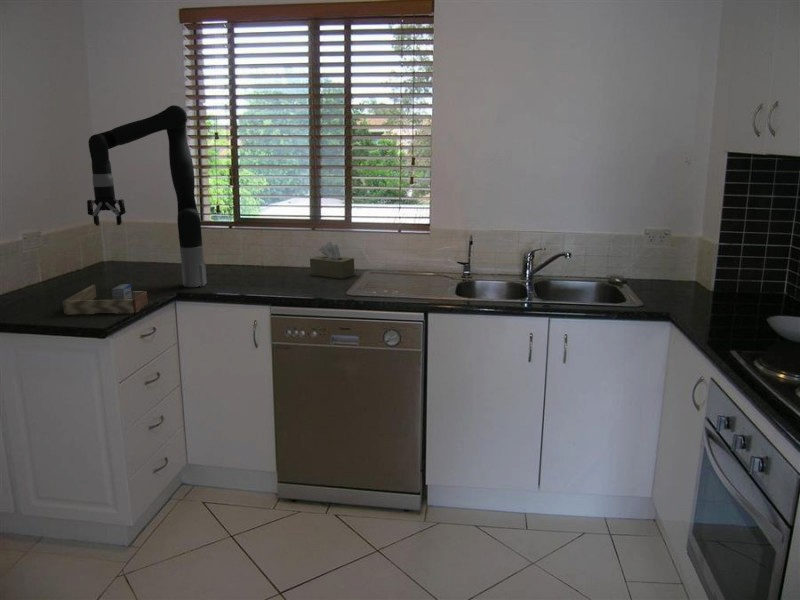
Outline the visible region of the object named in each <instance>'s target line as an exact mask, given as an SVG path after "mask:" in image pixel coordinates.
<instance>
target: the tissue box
mask: <svg viewBox="0 0 800 600" xmlns="http://www.w3.org/2000/svg"><path fill="white" fill-rule="evenodd" d="M318 251H320V253H321V255H317V256H314V257H310V258H309V268H310V270H309V271H310V272H309V273H310V276H314V277H324V278H332V279H333V278H334V279H341V280H345V279H347V278H350V277H352V276H355V258H353V257H343V256H341V251H340V248H339V246H338V244H335V245H333V243H332V242H331V241H329V242H327V243H326V244H325V246H324V245H322V246H321V247H320V249H318Z"/></svg>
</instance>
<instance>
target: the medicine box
mask: <svg viewBox="0 0 800 600" xmlns="http://www.w3.org/2000/svg"><path fill="white" fill-rule="evenodd" d="M131 286H132V285H131V284H129V283H128V284H127V283H122V284H118V285H117V286H115V287H113V288H111V297H112V300H125V299H132V293H131V291H132V287H131Z"/></svg>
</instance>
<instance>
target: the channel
mask: <svg viewBox="0 0 800 600" xmlns="http://www.w3.org/2000/svg"><path fill="white" fill-rule="evenodd" d="M96 290H97V289H96V284H91V285H90V286H88V287H86V288H84V289H82V290H81V291H79V292H77V293H75V294H73V295H71V296H70V297H68V298H65V299H64V300H63V301H62V306H63V307H62V308H63V315H64V314H66V315H96V314H95V313H115V314H135V313H138V312H140V311H141V310H142V309H143V308H145V307H146V306H147V305H148V304H149V303H148V302H149V301H148V293H147V292H148V291H145V290H139V291H138V290H137V291H136V290H134V291H133V290H131V293H132V299H125V300H113V299H95V298H97V291H96ZM146 304H147V305H146ZM145 305H146V306H145ZM144 306H145V307H144ZM141 308H142V309H141ZM140 309H141V310H140ZM119 312H120V313H119ZM134 312H135V313H134Z"/></svg>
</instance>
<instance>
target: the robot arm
mask: <svg viewBox="0 0 800 600" xmlns="http://www.w3.org/2000/svg"><path fill="white" fill-rule="evenodd" d="M187 122H188V113H187V111H186V110H185V109H184V108H183V107H181V106H179V105H176V104H174V105H173V104H172V105H170V106H167V107H166V108H165V109H164V110H162V111H160V112H158V113H156V114H153V115H151V116H150V117H146V118H143V119H139V120H136V121H132V122H129V123H126V124H122V125H119V126H117V127H114V128H112V129H110V130H107V131H103V132H100V133H95V134H92V135H91V136H90V137H89V139H88V143H87V144H88V149H89V155H90V158H91V172H92V186H93V192H94V193H93V195H94V200H93V199H88V200H86V205H87V206H86V207H87V215H88V216H92V217H93V223H94V225H95V226H100V224H101V223H100V218H99V214H100V212H101V211H108V212H109V211H111V212H112V213H114V215H116V216H115V220H116V225H117V226H121V224H122V223H123V220H122V216H123V215H124V214H126V213H127V212H126V207H125V200H124V199H116V196H115V195H116V194H115V185H114V178H113V174H112V166H111V165H112V164H111V161H110V156H109V155H110V153H109V150H110V149H113V148H115V147H117V146H122V145H126V144H129V143H132V142H135V141H139V140H140V139H142V138H145V137H148V136H150V135H153V134H155V133H158V132H159V133H160V132H162V131H166V133H167V139H168V160H169V168H170V170H169V171H170V175H171V180H172V185H173V188H174V191H175V195H176V201H177V229H178V230H177V231H178V232H177V233H178V241H179V252H180V263H181V273H182V283H183V287H184V288H198V287H199V286H200V287H205V285H207V283H208V282H207V281H208V280H207V271H206V269H207V268H206V262H205V260H204V251H203V236H202V224H201V217H200V214H199V211H198V206H197V202H196V198H195V197H196V196H195V185H196V184H195V183H196V182H195V171H194V164H193V158H192V154H191V151H190V147H189V143H188V137H187ZM116 204H117V205H118V207H119V209H118V207H117V206H116ZM94 205H96V208H95V209H94Z"/></svg>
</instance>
